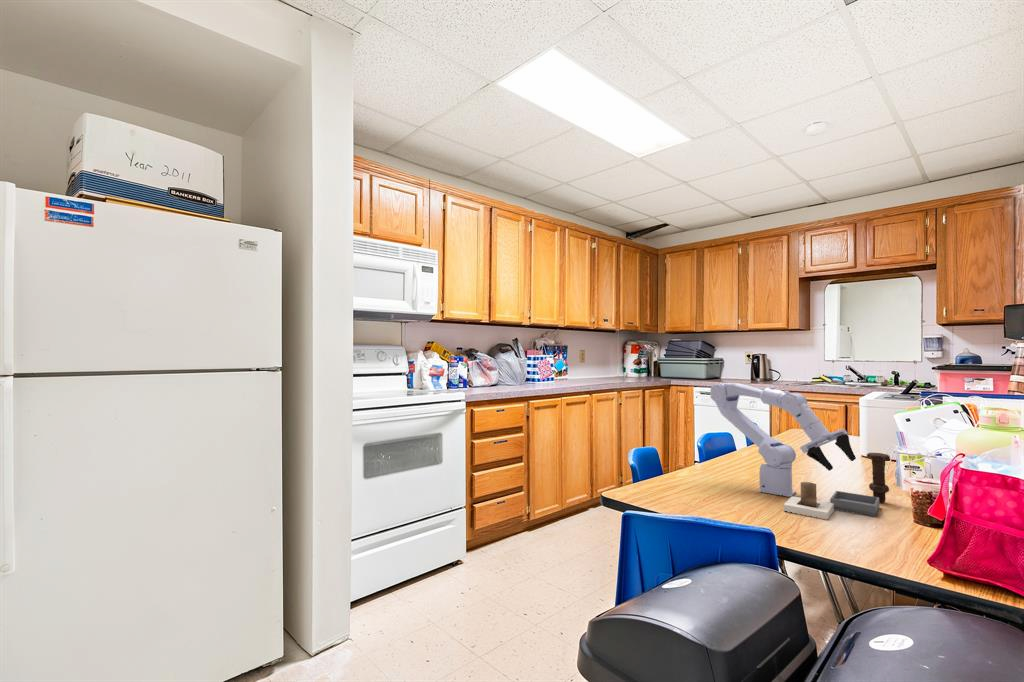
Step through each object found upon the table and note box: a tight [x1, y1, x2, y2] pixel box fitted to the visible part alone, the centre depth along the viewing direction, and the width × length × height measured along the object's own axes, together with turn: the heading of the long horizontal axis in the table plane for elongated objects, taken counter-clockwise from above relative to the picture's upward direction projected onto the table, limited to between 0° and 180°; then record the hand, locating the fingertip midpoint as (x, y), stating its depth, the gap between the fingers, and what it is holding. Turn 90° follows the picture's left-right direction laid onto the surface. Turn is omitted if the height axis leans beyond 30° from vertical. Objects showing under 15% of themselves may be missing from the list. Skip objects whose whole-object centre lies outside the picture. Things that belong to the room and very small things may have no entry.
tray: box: [829, 490, 880, 517], centre depth 145 cm, size 11×11×3 cm
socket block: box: [783, 495, 835, 521], centre depth 143 cm, size 11×11×2 cm
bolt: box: [866, 452, 891, 504], centre depth 151 cm, size 6×5×15 cm
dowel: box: [800, 481, 818, 508], centre depth 143 cm, size 4×4×8 cm
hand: (842, 464), depth 145 cm, fingers open, 7 cm apart
